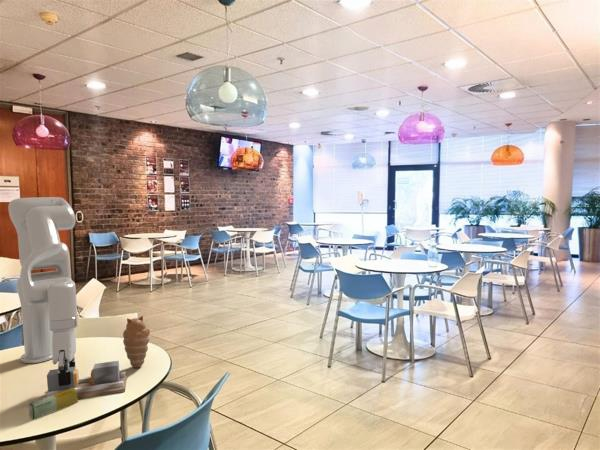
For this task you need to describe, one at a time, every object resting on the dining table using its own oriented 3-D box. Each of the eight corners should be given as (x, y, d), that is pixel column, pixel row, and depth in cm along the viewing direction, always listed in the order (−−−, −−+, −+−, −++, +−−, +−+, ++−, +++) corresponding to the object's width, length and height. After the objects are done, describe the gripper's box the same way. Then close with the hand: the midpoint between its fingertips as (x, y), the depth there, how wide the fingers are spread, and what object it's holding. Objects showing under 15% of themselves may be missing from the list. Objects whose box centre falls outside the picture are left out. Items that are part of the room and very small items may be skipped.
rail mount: (43, 404, 124) (41, 381, 124) (52, 386, 136) (51, 365, 135) (124, 391, 131) (123, 369, 131) (127, 375, 143) (126, 355, 142)
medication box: (32, 420, 116) (31, 406, 116) (28, 417, 118) (27, 403, 117) (78, 403, 125) (77, 390, 125) (74, 400, 127) (73, 387, 127)
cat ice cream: (127, 374, 143) (124, 322, 142) (121, 366, 150) (118, 316, 148) (154, 367, 149) (151, 316, 147) (147, 360, 155) (144, 311, 153)
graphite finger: (51, 388, 132) (49, 370, 131) (79, 384, 134) (78, 366, 134) (48, 394, 128) (46, 375, 127) (77, 390, 130) (75, 371, 130)
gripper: (56, 316, 137) (60, 370, 138) (42, 333, 120) (46, 394, 122) (82, 313, 139) (85, 366, 141) (72, 330, 123) (76, 390, 124)
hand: (67, 379), depth 131 cm, fingers open, 7 cm apart
